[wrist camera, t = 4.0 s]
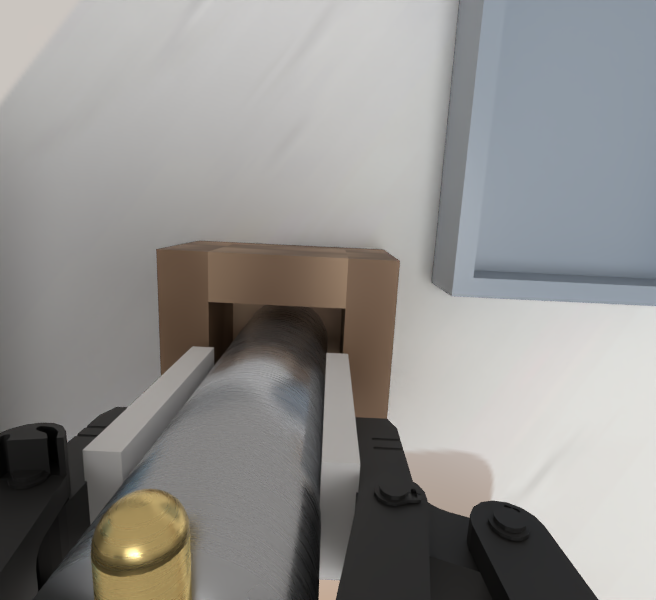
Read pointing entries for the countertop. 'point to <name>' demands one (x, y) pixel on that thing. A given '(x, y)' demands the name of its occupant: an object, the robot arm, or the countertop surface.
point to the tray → (551, 153)
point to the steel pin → (221, 484)
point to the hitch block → (283, 302)
